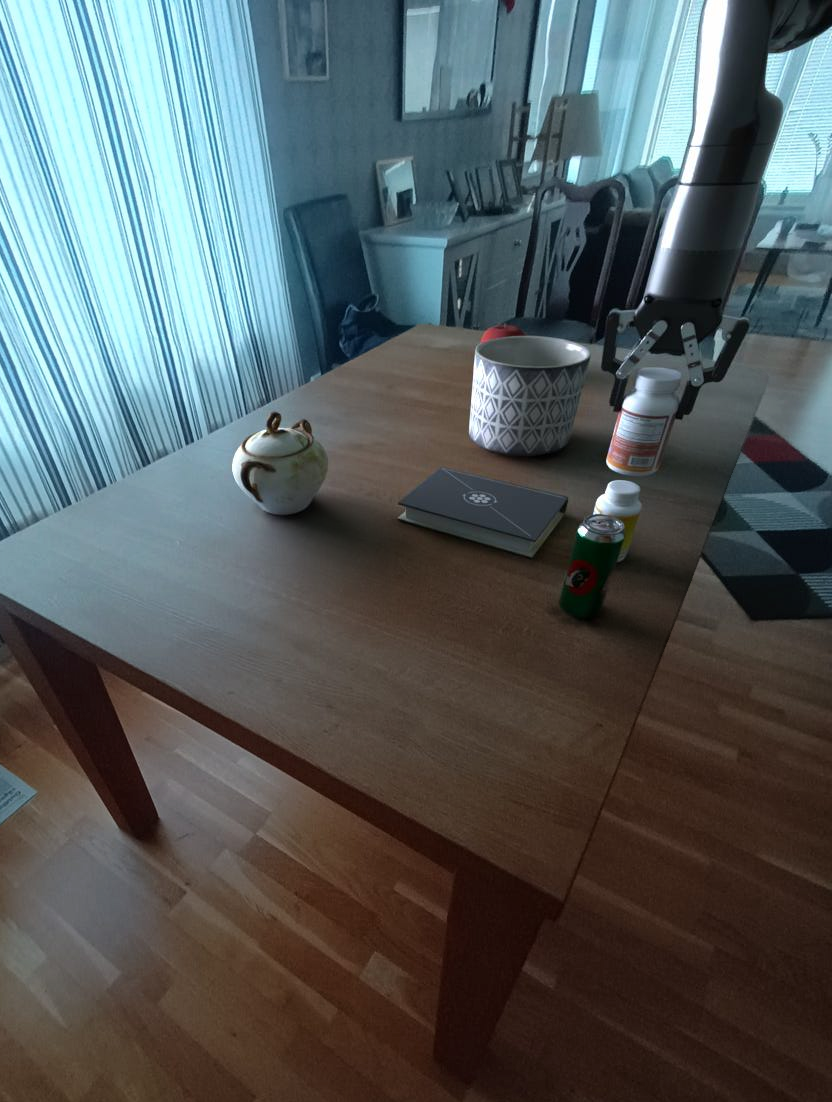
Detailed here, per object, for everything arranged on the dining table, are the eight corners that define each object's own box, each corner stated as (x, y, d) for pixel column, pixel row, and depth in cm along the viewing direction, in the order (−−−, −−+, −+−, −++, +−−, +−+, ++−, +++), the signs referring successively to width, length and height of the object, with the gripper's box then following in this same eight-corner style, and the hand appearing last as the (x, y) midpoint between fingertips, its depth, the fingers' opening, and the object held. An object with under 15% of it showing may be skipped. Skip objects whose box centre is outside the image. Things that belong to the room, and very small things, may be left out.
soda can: (603, 622, 69) (632, 536, 61) (560, 619, 70) (583, 533, 62) (596, 597, 73) (623, 513, 65) (555, 594, 74) (577, 510, 66)
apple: (521, 384, 135) (529, 329, 127) (475, 382, 137) (481, 327, 129) (522, 369, 143) (530, 317, 135) (478, 368, 145) (484, 316, 137)
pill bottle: (628, 452, 75) (655, 361, 68) (669, 469, 71) (702, 374, 63) (594, 464, 73) (618, 371, 65) (634, 482, 69) (664, 385, 61)
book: (565, 513, 89) (570, 496, 87) (531, 559, 80) (535, 540, 78) (439, 482, 98) (441, 465, 96) (396, 520, 89) (397, 502, 87)
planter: (578, 433, 112) (600, 341, 102) (556, 473, 100) (578, 372, 89) (483, 419, 119) (494, 331, 108) (451, 454, 107) (460, 359, 96)
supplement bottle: (633, 557, 80) (657, 489, 73) (605, 570, 77) (627, 501, 71) (601, 539, 83) (621, 473, 76) (574, 551, 81) (591, 484, 74)
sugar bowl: (293, 541, 85) (282, 443, 76) (212, 521, 91) (191, 427, 81) (351, 485, 99) (348, 395, 89) (277, 470, 104) (266, 384, 94)
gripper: (617, 244, 56) (578, 417, 67) (788, 248, 51) (715, 433, 62) (625, 234, 61) (588, 396, 72) (781, 237, 56) (715, 410, 67)
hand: (647, 413), depth 67 cm, fingers closed on pill bottle, 6 cm apart
